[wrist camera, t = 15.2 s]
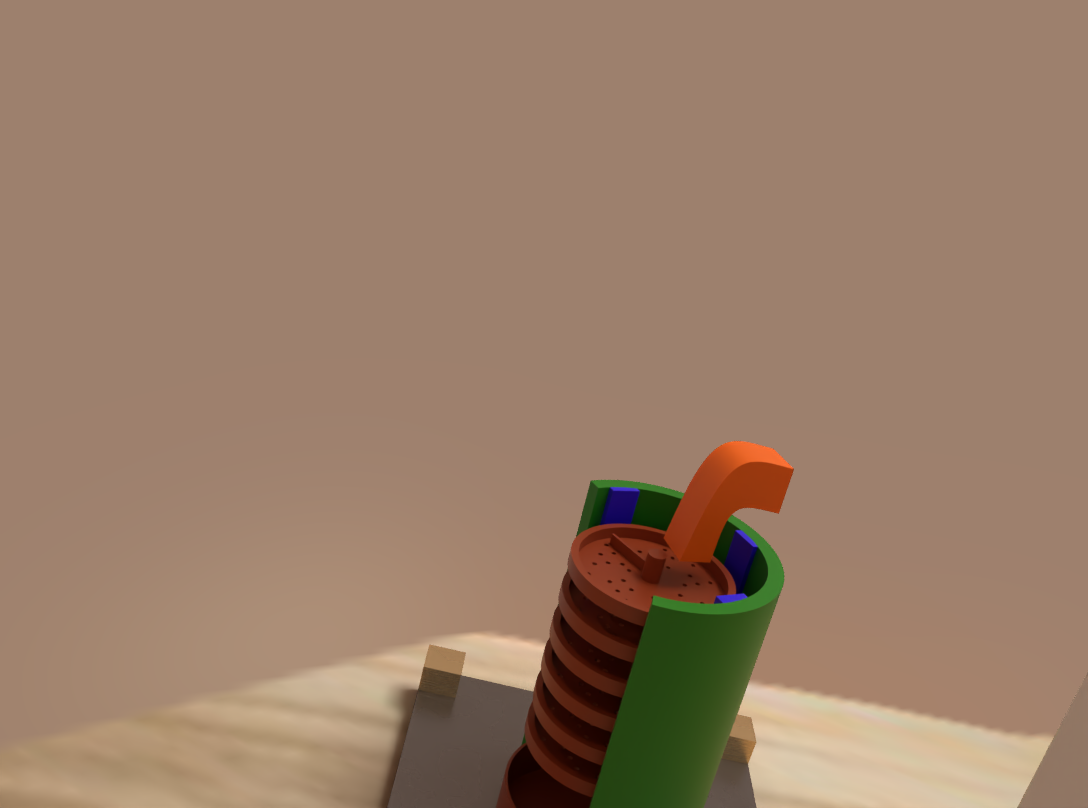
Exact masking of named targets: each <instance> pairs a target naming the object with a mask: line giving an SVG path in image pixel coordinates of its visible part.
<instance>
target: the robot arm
mask: <svg viewBox="0 0 1088 808" xmlns="http://www.w3.org/2000/svg"><path fill="white" fill-rule="evenodd" d="M1017 808H1088V672H1087V674H1086V676H1085V678H1084V680H1083V682H1082V684H1081V686H1080V688H1079V690H1078V692H1077V694H1076V695H1075V697H1074V699H1073V701H1072V703H1071V705H1070V707H1069V709H1068V711H1067V713H1066V715H1065V717H1064V719H1063V721H1062V722H1061V724H1060V726H1059V728H1058V730H1057V732H1056V734H1055V736H1054V738H1053V740H1052V742H1051V744H1050V746H1049V748H1048V750H1047V751H1046V753H1045V755H1044V757H1043V759H1042V761H1041V763H1040V765H1039V767H1038V769H1037V771H1036V773H1035V775H1034V777H1033V779H1032V780H1031V782H1030V784H1029V786H1028V788H1027V790H1026V792H1025V794H1024V796H1023V798H1022V800H1021V802H1020V804H1019V806H1018V807H1017Z"/></svg>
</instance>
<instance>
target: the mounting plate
mask: <svg viewBox="0 0 1088 808" xmlns="http://www.w3.org/2000/svg"><path fill="white" fill-rule="evenodd" d="M465 654H466V653H465V652H460V651H456V650H451V649H447V648H443V647H438V646H434V645H429V649H428V652H427V656H426V660H425V664H424V668H423V672H422V676H421V681H420V685H419V689H418V693H417V697H416V701H415V705H414V708H413V712H412V716H411V720H410V723H409V727H408V731H407V735H406V739H405V742H404V746H403V750H402V754H401V758H400V761H399V765H398V769H397V773H396V777H395V780H394V784H393V788H392V792H391V795H390V799H389V803H388V807H387V808H496V805H497V801H498V797H499V793H500V790H501V786H502V782H503V778H504V774H505V770H506V767H507V764H508V761H509V759H510V758H511V756H512V755H513V753H514V752H515V751H516V750H517V749H518V748H519V747H520V746H521V744H522V741H523V737H524V733H525V722H526V718H527V715H528V711H529V707H530V705H531V703H532V701H533V692H532V691H528V690H523V689H519V688H515V687H510V686H506V685H501V684H497V683H492V682H488V681H484V680H479V679H475V678H470V677H466V676H462V675H461V673H462V668H463V663H464V658H465ZM755 744H756V738H755V733H754V729H753V724H752V719H751V718H750V717H746V716H742V715H737V716H736V719H735V722H734V724H733V727H732V730H731V733H730V736H729V738H728V741H727V744H726V747H725V750H724V752H723V755H722V758H721V761H720V764H719V766H718V769H717V772H716V775H715V778H714V780H713V783H712V786H711V789H710V792H709V794H708V797H707V800H706V803H705V806H704V808H756V803H755V798H754V793H753V788H752V783H751V778H750V773H749V768H748V762H749V760H750V757H751V755H752V752H753V749H754V747H755Z"/></svg>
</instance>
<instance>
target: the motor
mask: <svg viewBox="0 0 1088 808" xmlns="http://www.w3.org/2000/svg"><path fill="white" fill-rule="evenodd" d="M793 470H794V469H793V468H792V467H791V466H790V465H789V464H788V463H787V462H786V461H785V460H784V459H783V458H782V457H781V456H780V455H779V454H778V453H777V452H776V451H775V450H774V449H771V448H768V447H764V446H761V445H757V444H753V443H748V442H741V441H734V442H728V443H725V444H723V445H721V446H719V447H718V448H716V449H715V450H714V451H713V452H712V453H711V454H710V455H709V456H708V457H707V458H706V460H705V461H704V462H703V463H702V465H701V466H700V468H699V469H698V471H697V472H696V474H695V476H694V477H693V479H692V481H691V482H690V484H689V486H688V488H687V490H686V492H685V493H681V492H678V491H675V490H672V489H668V488H664V487H660V486H656V485H651V484H646V483H640V482H633V481H622V480H594V481H591V482H590V486H589V490H588V493H587V498H586V501H585V505H584V509H583V512H582V516H581V521H580V524H579V528H578V532H577V535H576V538H575V540H574V541H573V543H572V547H571V551H570V555H569V558H568V569H567V572H566V574H565V576H564V578H563V581H562V585H561V589H560V593H559V604H558V607H557V608H556V610H555V612H554V616H553V619H552V623H551V627H550V638H549V640H548V641H547V643H546V646H545V650H544V654H543V657H542V662H541V671H540V672H539V674H538V677H537V680H536V684H535V688H534V692H533V701H532V703H531V705H530V707H529V711H528V715H527V718H526V722H525V733H524V737H523V741H522V744H521V746H520V747H519V748H518V749H517V750H516V751H515V752H514V753H513V755H512V756H511V758H510V759H509V761H508V764H507V767H506V770H505V774H504V778H503V782H502V786H501V790H500V793H499V797H498V801H497V805H496V808H704V806H705V803H706V800H707V797H708V794H709V792H710V789H711V786H712V783H713V780H714V778H715V775H716V772H717V769H718V766H719V764H720V761H721V758H722V755H723V752H724V750H725V747H726V744H727V741H728V738H729V736H730V733H731V730H732V727H733V724H734V722H735V719H736V716H737V713H738V710H739V708H740V705H741V702H742V699H743V696H744V694H745V691H746V688H747V685H748V682H749V680H750V677H751V674H752V671H753V668H754V666H755V663H756V660H757V657H758V654H759V651H760V648H761V646H762V643H763V640H764V637H765V635H766V631H767V629H768V626H769V623H770V620H771V618H772V615H773V612H774V609H775V607H776V604H777V601H778V598H779V595H780V593H781V590H782V587H783V583H784V571H783V567H782V564H781V562H780V560H779V558H778V556H777V554H776V553H775V551H774V550H773V549H772V548H771V546H770V545H769V544H768V543H767V542H766V541H765V540H764V539H763V538H762V537H761V536H760V535H759V534H758V533H757V532H756V531H754V530H753V529H752V528H750V527H749V526H748V525H747V524H745V523H744V522H742V521H741V520H739V519H738V518H736V517H734V516H733V515H732V514H733V513H734V512H735V511H737V510H739V509H742V508H756V509H762V510H766V511H770V512H774V513H779V511H780V509H781V505H782V503H783V500H784V497H785V494H786V491H787V488H788V485H789V482H790V479H791V476H792V473H793Z"/></svg>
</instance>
